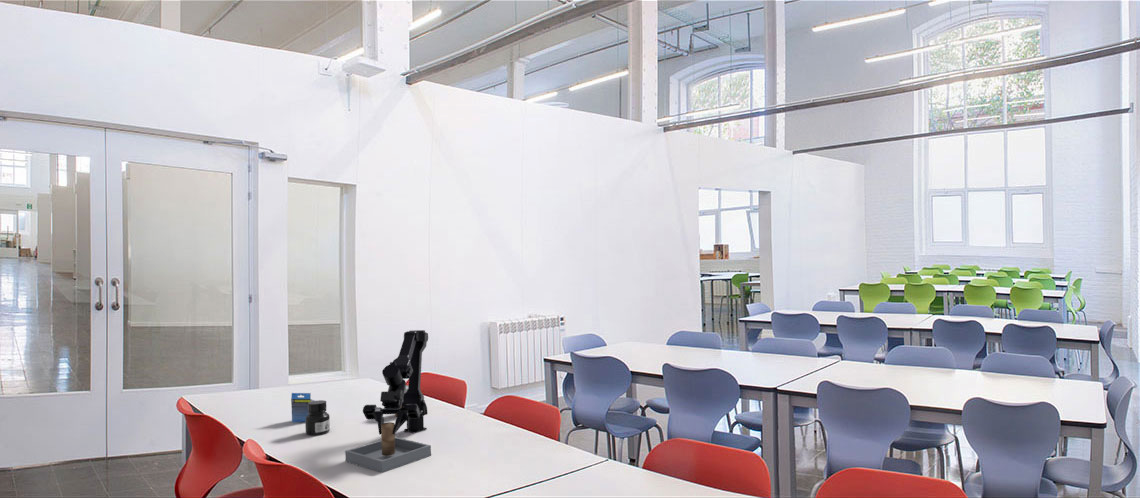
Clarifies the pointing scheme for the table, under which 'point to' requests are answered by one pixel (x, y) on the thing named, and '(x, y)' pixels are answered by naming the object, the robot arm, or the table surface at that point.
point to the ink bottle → (317, 418)
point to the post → (387, 439)
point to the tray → (375, 460)
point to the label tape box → (300, 406)
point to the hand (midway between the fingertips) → (386, 433)
